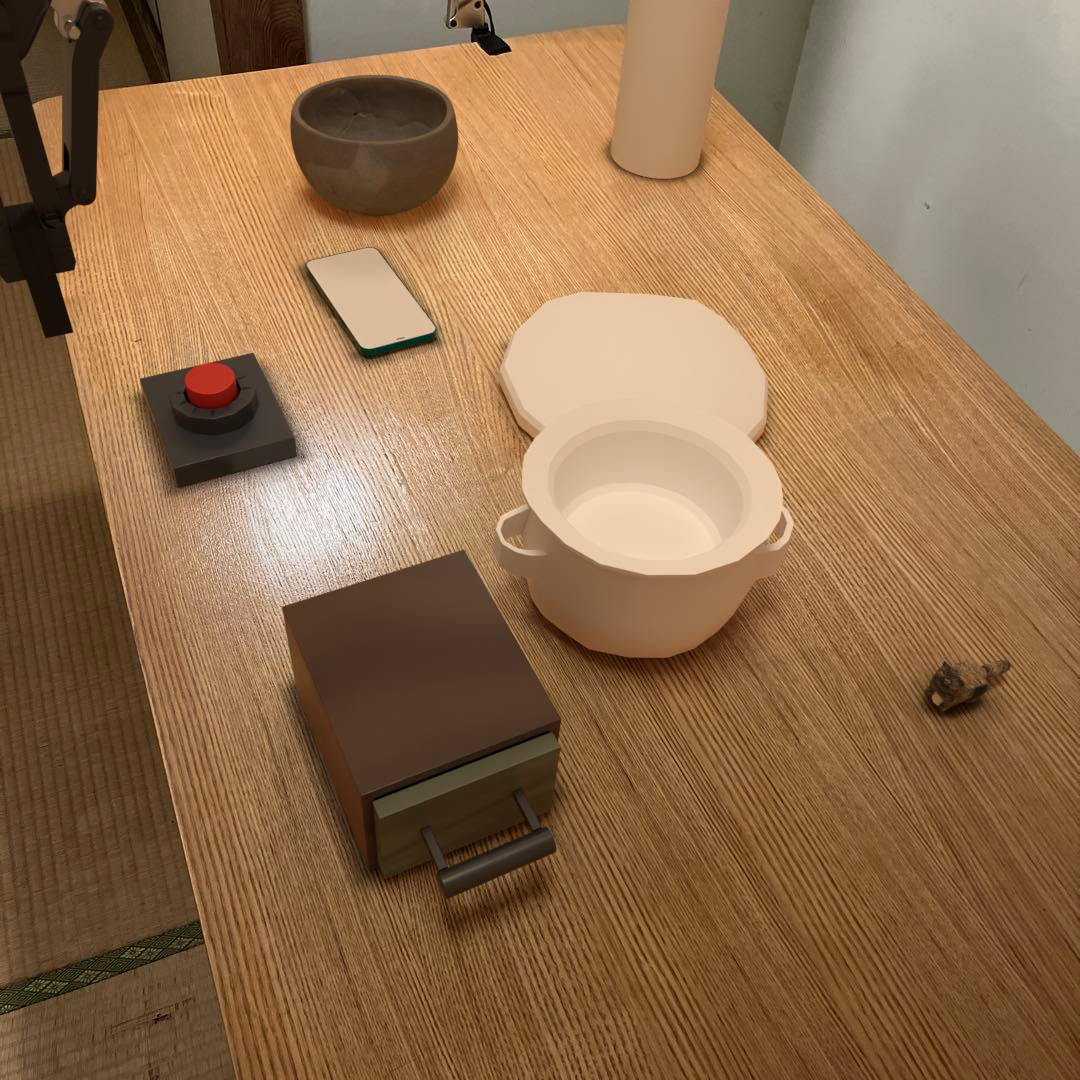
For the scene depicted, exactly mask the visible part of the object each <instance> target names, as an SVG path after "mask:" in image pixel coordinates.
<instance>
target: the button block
mask: <svg viewBox="0 0 1080 1080" xmlns="http://www.w3.org/2000/svg"><path fill="white" fill-rule="evenodd" d="M209 363H219V364H223V365H226V366H228V367H229V368H230V369H231V370H232V371H233V372H234V375H235V380H236V386H237V397H236V399H235V400H234V401H233V402H232V403H230V404H229V405H227V406H225V407H221V408H217V409H203V408H198V407H196V406H194V405H193V404H192V403H191V402H190V401H189V398H188V394H187V390H186V385H185V377H186V375H187V373H188V372H189V371H190V370H191V369H193V368H194V367H196V366H199V365H202V364H203V363H201V364H197V365H193V366H188V367H184V368H179V369H175V370H171V371H166V372H163V373H158V374H153V375H149V376H144V377H140V378H139V384H140V386H141V390H142V394H143V397H144V398H143V399H144V401H145V403H146V406H147V408H148V411H149V415H150V416H151V420H152V422H153V424H154V427H155V430H156V432H157V435H158V439H159V440H160V443H161V446H162V449H163V451H164V454H165V457H166V459H167V463H168V465H169V468H170V470H171V473H172V476H173V479H174V481H175V485H176V486H177V488H182V487H185V486H186V487H187V486H189V485H193V484H196V483H200V482H205V481H207V480H212V479H215V478H220V477H223V476H226V475H230V474H234V473H238V472H243V471H245V470H250V469H253V468H257V467H260V466H264V465H268V464H272V463H275V462H279V461H283V460H287V459H291V458H294V457H297V456H298V450H297V443H296V437H295V435H294V433H293V431H292V428H291V427H290V424H289V422H288V420H287V419H286V416H285V414H284V412H283V409H282V408H281V406H280V404H279V402H278V399H277V398H276V396H275V394H274V392H273V390H272V388H271V385H270V383H269V380H268V379H267V377H266V374H265V373H264V371H263V369H262V367H261V365H260V363H259V361H258V359H257V356H256V355H255V353H254V352H249V353H245V354H241V355H236V356H233V357H228V358H223V359H218V360H214V361H211V362H209Z"/></svg>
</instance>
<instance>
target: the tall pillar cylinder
mask: <svg viewBox="0 0 1080 1080" xmlns="http://www.w3.org/2000/svg"><path fill="white" fill-rule="evenodd" d="M628 3H629V4H628V11H627V19H626V28H625V35H624V42H623V50H622V57H621V65H620V74H619V80H618V81H619V82H618V89H617V99H616V105H615V111H614V112H615V113H614V120H613V129H612V137H611V145H610V155H611V158H612V160H613V161H614V162H615V163H616V164H617V165H618V166H619V167H620V168H622V169H623V170H625V171H626V172H629V173H631V174H633V175H637V176H640V177H643V178H644V177H645V178H649V179H659V180H669V179H670V180H671V179H677V178H682V177H684V176H687V175H689V174H691V173H692V172H694V171H695V170H696V169H697V167H698V166H699V163H700V159H701V153H702V148H703V142H704V138H705V133H706V128H707V122H708V117H709V114H710V113H709V112H710V108H711V102H712V98H713V93H714V92H713V91H714V86H715V82H716V76H717V70H718V66H719V60H720V55H721V51H722V45H723V40H724V35H725V30H726V25H727V21H728V20H727V19H728V15H729V9H730V4H731V0H629V2H628Z"/></svg>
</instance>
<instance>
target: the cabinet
mask: <svg viewBox="0 0 1080 1080" xmlns="http://www.w3.org/2000/svg"><path fill="white" fill-rule="evenodd" d="M281 611H282V615H283V621H284V627H285V632H286V633H285V634H286V638H287V644H288V649H289V656H290V660H291V661H290V662H291V668H292V673H293V679H294V685H295V689H296V694H297V696H298V700H299V701H300V703H301V706H302V708H303V711H304V714H305V716H306V719H307V722H308V723H309V726H310V729H311V731H312V734H313V736H314V739H315V741H316V743H317V746H318V749H319V751H320V753H321V756H322V758H323V762H324V763H325V766H326V769H327V771H328V773H329V776H330V778H331V781H332V784H333V786H334V788H335V791H336V793H337V796H338V799H339V801H340V802H341V807H342V808H343V811H344V813H345V816H346V819H347V821H348V823H349V826H350V828H351V831H352V833H353V837H354V839H355V840H356V844H357V846H358V848H359V851H360V853H361V855H362V858H363V860H364V864H365V865H366V868H367V871H368V872H371V871H373V870H376V869H380V867H379V864H378V857H377V847H376V836H375V825H374V815H373V804H372V802H373V801H375V799H374V798H375V797H378V796H381V795H383V794H386V793H388V792H391V791H394V790H396V789H399V788H401V787H404V786H406V785H409V784H412V783H414V782H417V781H419V780H422V779H424V778H427V777H430V776H432V775H435V774H437V773H440V772H443V771H445V770H448V769H450V768H453V767H455V766H458V765H461V764H463V763H466V762H468V761H471V760H473V759H476V758H479V757H481V756H484V755H486V754H489V753H492V752H494V751H497V750H499V749H502V748H504V747H507V746H510V745H512V744H515V743H517V742H520V741H523V740H525V739H528V738H530V739H529V740H532V739H535V738H537V737H540V736H542V735H545V734H547V733H550V732H553V734H554V736H555V738H556V739H557V741H558V742H559V738H560V731H561V725H562V717H561V715H560V713H559V711H558V710H557V708H556V707H555V705H554V703H553V701H552V700H551V698H550V696H549V695H548V692H547V691H546V689H545V687H544V686H543V684H542V682H541V680H540V679H539V677H538V675H537V674H536V672H535V670H534V668H533V667H532V665H531V663H530V661H529V659H528V658H527V656H526V655H525V653H524V651H523V649H522V647H521V646H520V644H519V642H518V641H517V639H516V637H515V635H514V633H513V632H512V630H511V629H510V627H509V625H508V623H507V622H506V619H505V618H504V615H502V613H501V611H500V609H499V607H498V605H497V603H496V602H495V600H494V598H493V597H492V595H491V594H490V592H489V590H488V588H487V587H486V584H485V582H483V580H482V578H481V576H480V574H479V572H478V571H477V569H476V567H475V566H474V564H473V562H472V560H471V559H470V557H469V555H468V554H467V552H466V550H465V549H461V550H458V551H454V552H451V553H448V554H445V555H442V556H438V557H435V558H433V559H429V560H426V561H422V562H419V563H417V564H414V565H413V564H412V565H410V566H407V567H404V568H400V569H397V570H394V571H391V572H387V573H385V574H381V575H378V576H375V577H371V578H369V579H365V580H362V581H359V582H356V583H353V584H350V585H347V586H342V587H340V588H337V589H334V590H331V591H326V592H324V593H321V594H318V595H314V596H311V597H309V598H305V599H301V600H299V601H296V602H295V601H294V602H292V603H290V604H286V605H283V606H281Z"/></svg>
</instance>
